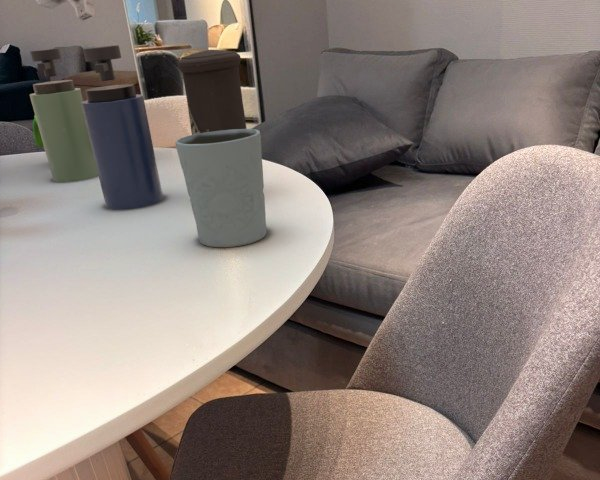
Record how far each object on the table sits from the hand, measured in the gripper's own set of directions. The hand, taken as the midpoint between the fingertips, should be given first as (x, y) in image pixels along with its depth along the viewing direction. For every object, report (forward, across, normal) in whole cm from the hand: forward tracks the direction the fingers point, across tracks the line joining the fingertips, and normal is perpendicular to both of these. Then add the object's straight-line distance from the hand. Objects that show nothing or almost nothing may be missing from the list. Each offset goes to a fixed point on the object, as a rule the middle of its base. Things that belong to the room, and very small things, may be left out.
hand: (86, 17), depth 116 cm
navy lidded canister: (+36, +16, -16) cm, 42 cm away
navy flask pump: (+20, +20, -22) cm, 36 cm away
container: (+38, +30, -10) cm, 49 cm away
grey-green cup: (+45, +41, -28) cm, 67 cm away
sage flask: (+26, -9, -2) cm, 28 cm away
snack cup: (+20, -21, +10) cm, 31 cm away
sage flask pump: (+10, -5, -8) cm, 13 cm away
